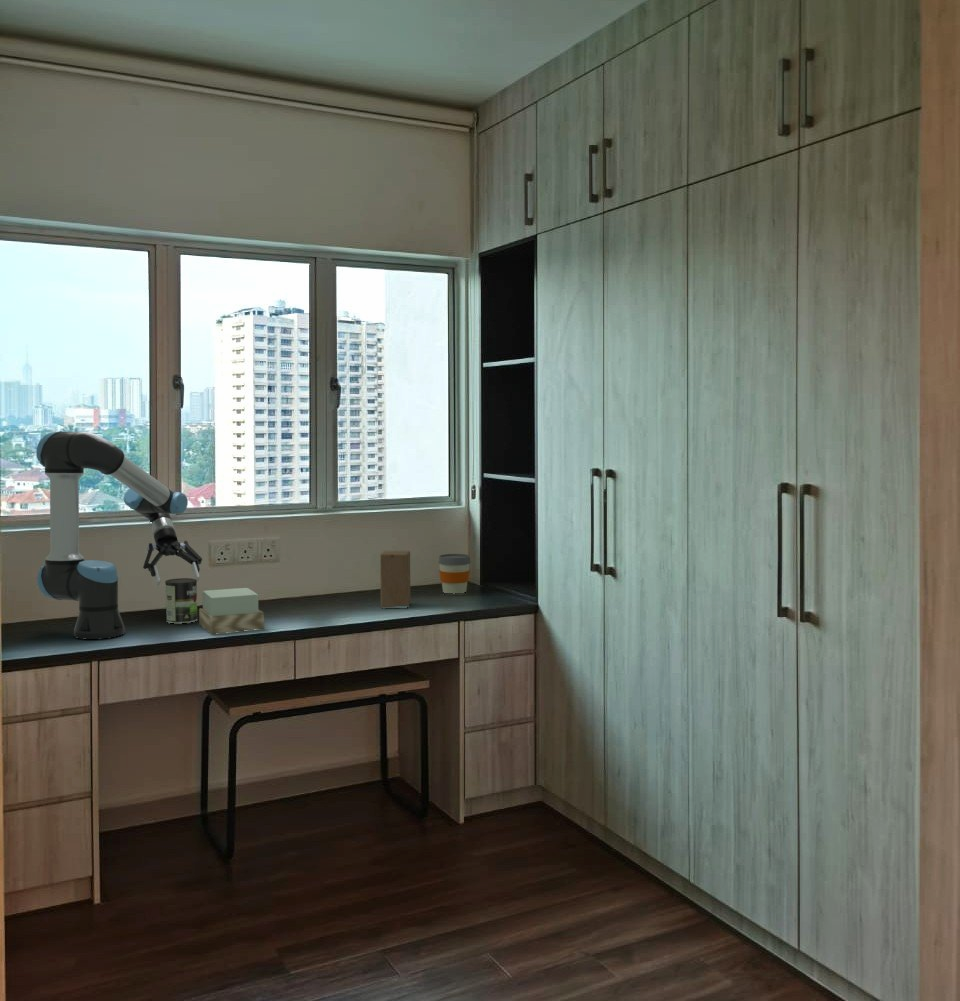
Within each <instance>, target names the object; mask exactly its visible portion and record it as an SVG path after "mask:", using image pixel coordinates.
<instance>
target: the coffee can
mask: <svg viewBox="0 0 960 1001" xmlns="http://www.w3.org/2000/svg"><path fill="white" fill-rule="evenodd" d="M164 583H165V603H166V604H165V606H166V608H165V610H166V623H167V622H168V623H167V624H170V623H174V624H173V625H183V624H182V623H187V624H192V623H191V622H193V623H196V622H198V592H197V591H198V590H197V586H198V585H197V580H196V579H195V578H191V577H190V578H187V577H185V578H184V577H180V578H171V579H170V578H169V579H167V580H165V581H164ZM195 621H196V622H195Z"/></svg>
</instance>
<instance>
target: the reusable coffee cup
mask: <svg viewBox="0 0 960 1001" xmlns="http://www.w3.org/2000/svg"><path fill="white" fill-rule="evenodd" d="M471 562H472V561H471V556H470V554H465V553H444V554H441V555H439V556H438V564H439V571H438V572H439V580H440V582H441V586H442V593H443V592H444V593H453V594H455V593H464V592H466V593H467V587H468V582H469V580H470V574H471V573H470V572H471V569H470V564H471Z"/></svg>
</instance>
